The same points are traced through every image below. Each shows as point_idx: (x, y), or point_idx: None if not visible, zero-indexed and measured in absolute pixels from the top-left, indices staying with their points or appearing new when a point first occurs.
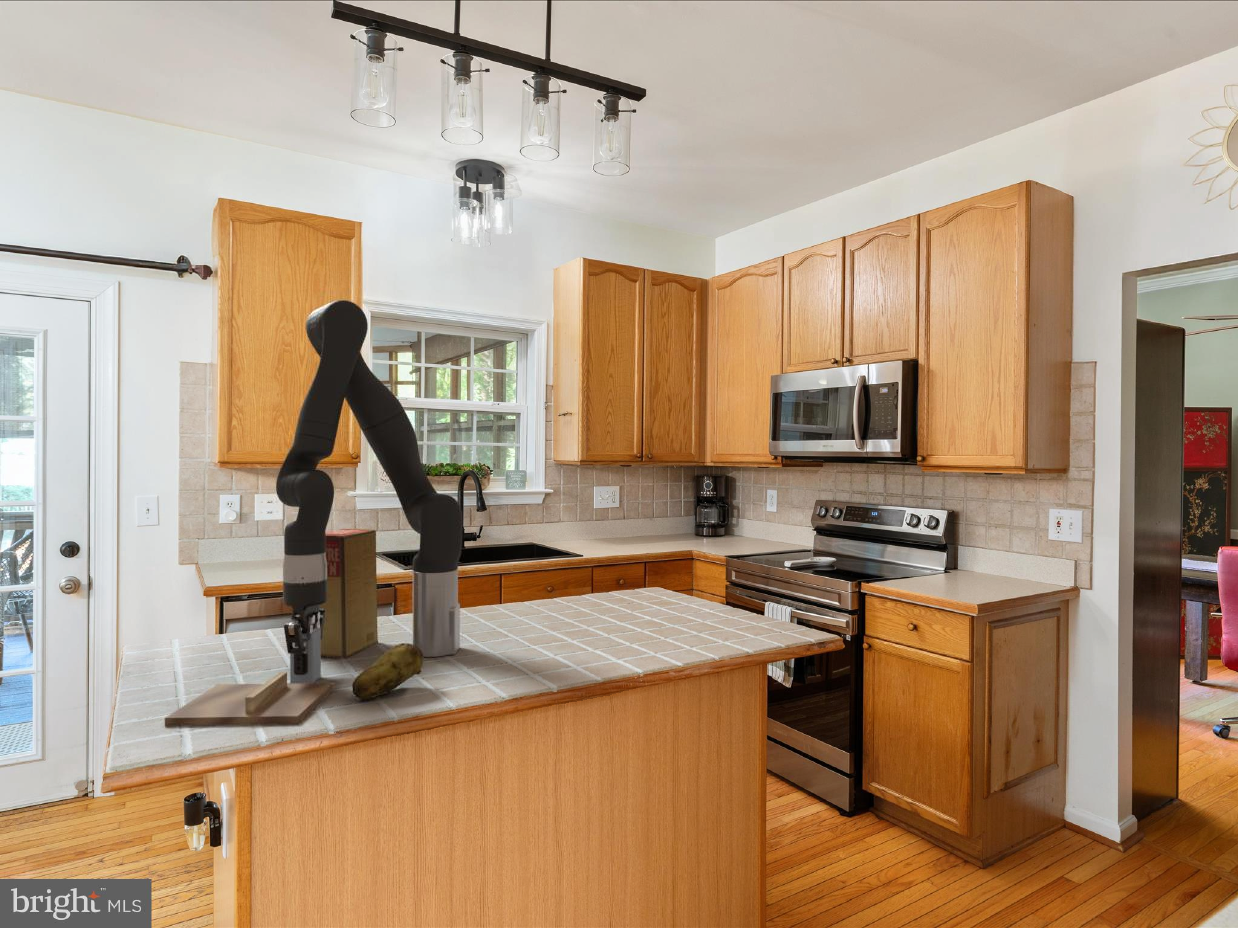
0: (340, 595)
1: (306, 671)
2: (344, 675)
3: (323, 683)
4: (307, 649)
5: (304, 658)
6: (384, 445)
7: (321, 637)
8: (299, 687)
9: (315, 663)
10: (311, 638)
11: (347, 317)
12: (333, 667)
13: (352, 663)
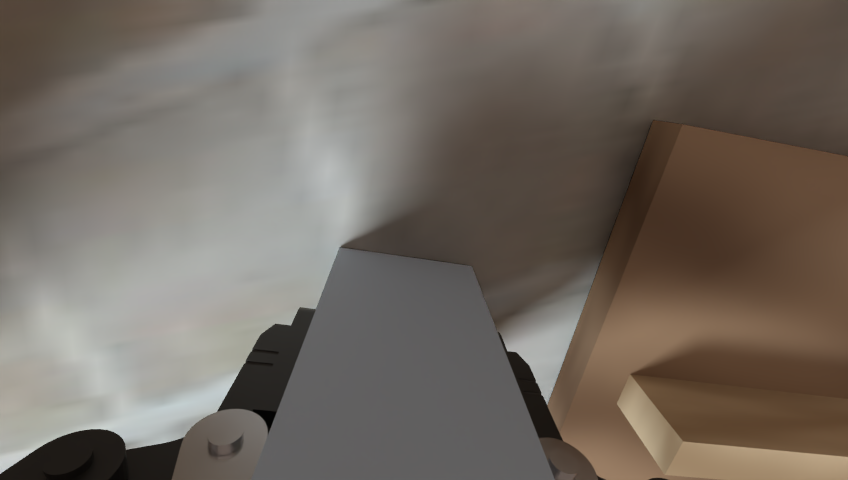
0: None
1: (500, 337)
2: (343, 92)
3: (661, 190)
4: (570, 472)
5: None
6: None
7: (91, 457)
8: (680, 311)
9: (435, 317)
10: None
11: None
12: (138, 202)
13: (16, 73)
